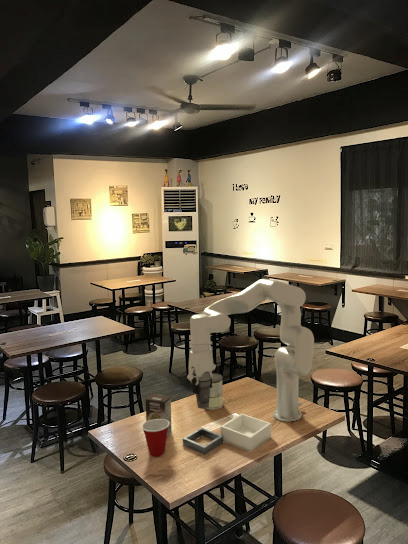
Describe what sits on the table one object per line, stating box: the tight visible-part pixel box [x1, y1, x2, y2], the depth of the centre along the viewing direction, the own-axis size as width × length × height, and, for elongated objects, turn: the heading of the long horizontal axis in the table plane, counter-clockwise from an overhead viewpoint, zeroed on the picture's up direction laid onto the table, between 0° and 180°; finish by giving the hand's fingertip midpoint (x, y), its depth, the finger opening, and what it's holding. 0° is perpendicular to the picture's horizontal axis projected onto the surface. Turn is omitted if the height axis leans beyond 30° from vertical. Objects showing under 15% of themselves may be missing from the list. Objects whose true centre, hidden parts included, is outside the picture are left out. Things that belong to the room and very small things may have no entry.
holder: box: [182, 427, 224, 456], centre depth 174 cm, size 11×11×3 cm
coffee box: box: [145, 393, 173, 438], centre depth 183 cm, size 9×6×16 cm
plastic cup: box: [141, 419, 169, 458], centre depth 168 cm, size 11×11×12 cm
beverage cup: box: [195, 371, 211, 410], centre depth 171 cm, size 7×7×20 cm
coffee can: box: [206, 372, 224, 411], centre depth 209 cm, size 10×10×14 cm
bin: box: [220, 413, 272, 453], centre depth 178 cm, size 15×15×6 cm
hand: (202, 389), depth 172 cm, fingers closed on beverage cup, 6 cm apart
